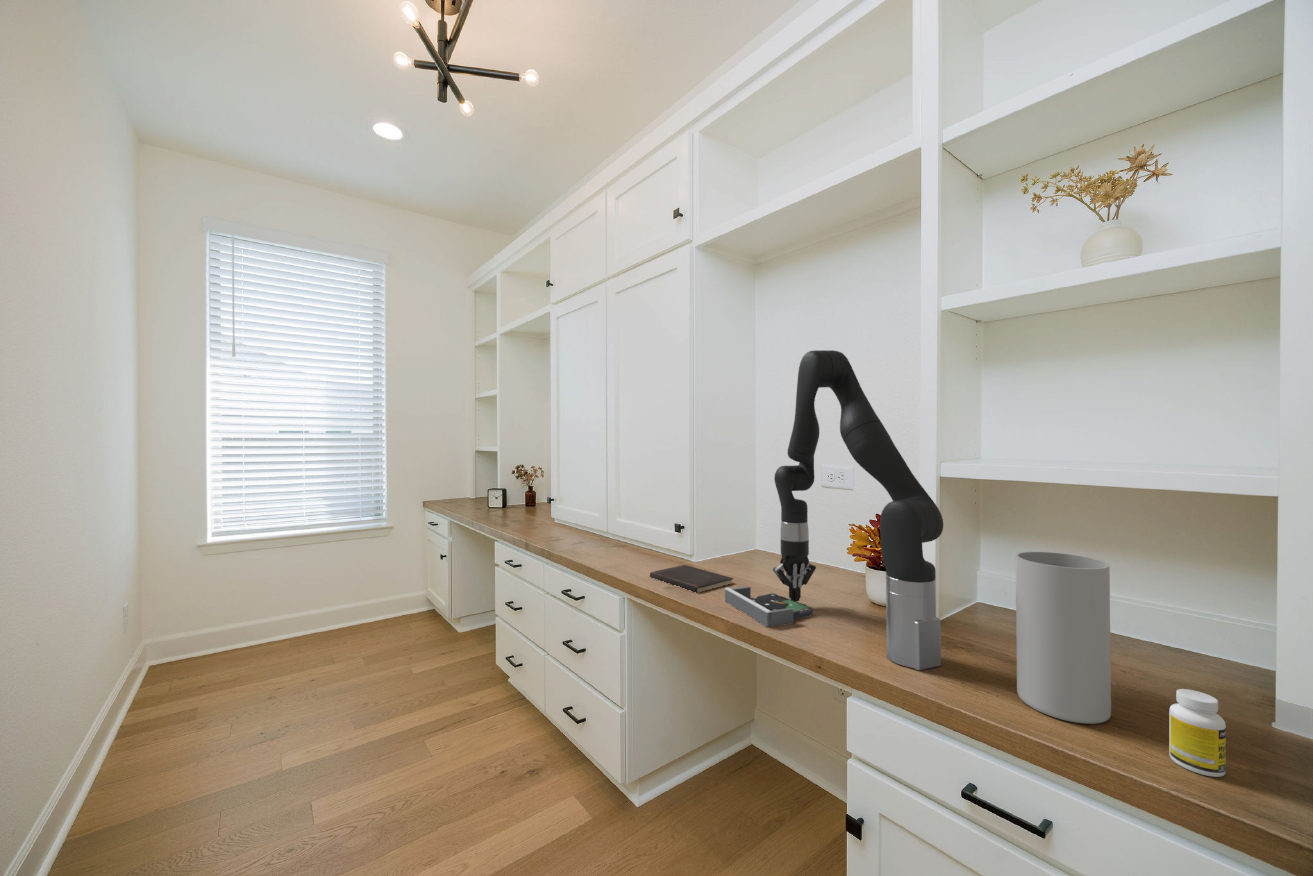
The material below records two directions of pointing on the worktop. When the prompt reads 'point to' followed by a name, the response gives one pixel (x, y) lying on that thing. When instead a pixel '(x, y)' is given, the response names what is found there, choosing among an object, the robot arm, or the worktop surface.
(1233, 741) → the worktop surface
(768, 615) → the dock
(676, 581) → the hardcover book
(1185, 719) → the supplement bottle
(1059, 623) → the cylinder vase
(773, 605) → the disk drive
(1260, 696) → the worktop surface
